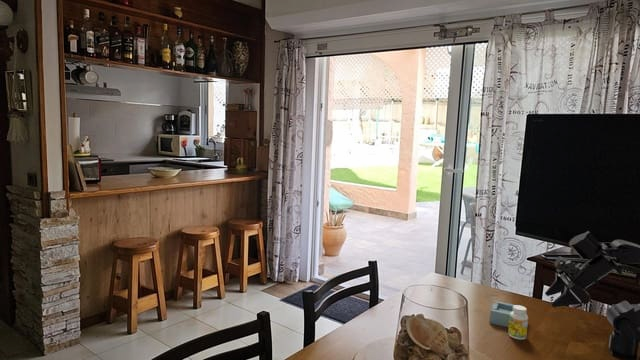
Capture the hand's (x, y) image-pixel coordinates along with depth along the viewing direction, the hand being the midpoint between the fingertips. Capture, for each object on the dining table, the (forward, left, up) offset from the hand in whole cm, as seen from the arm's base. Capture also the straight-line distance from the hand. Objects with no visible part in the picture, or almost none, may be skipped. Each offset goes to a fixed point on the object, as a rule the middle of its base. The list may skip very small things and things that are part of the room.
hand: (548, 300), depth 135 cm
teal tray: (+12, -8, -13) cm, 20 cm away
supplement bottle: (+8, +2, -14) cm, 16 cm away
